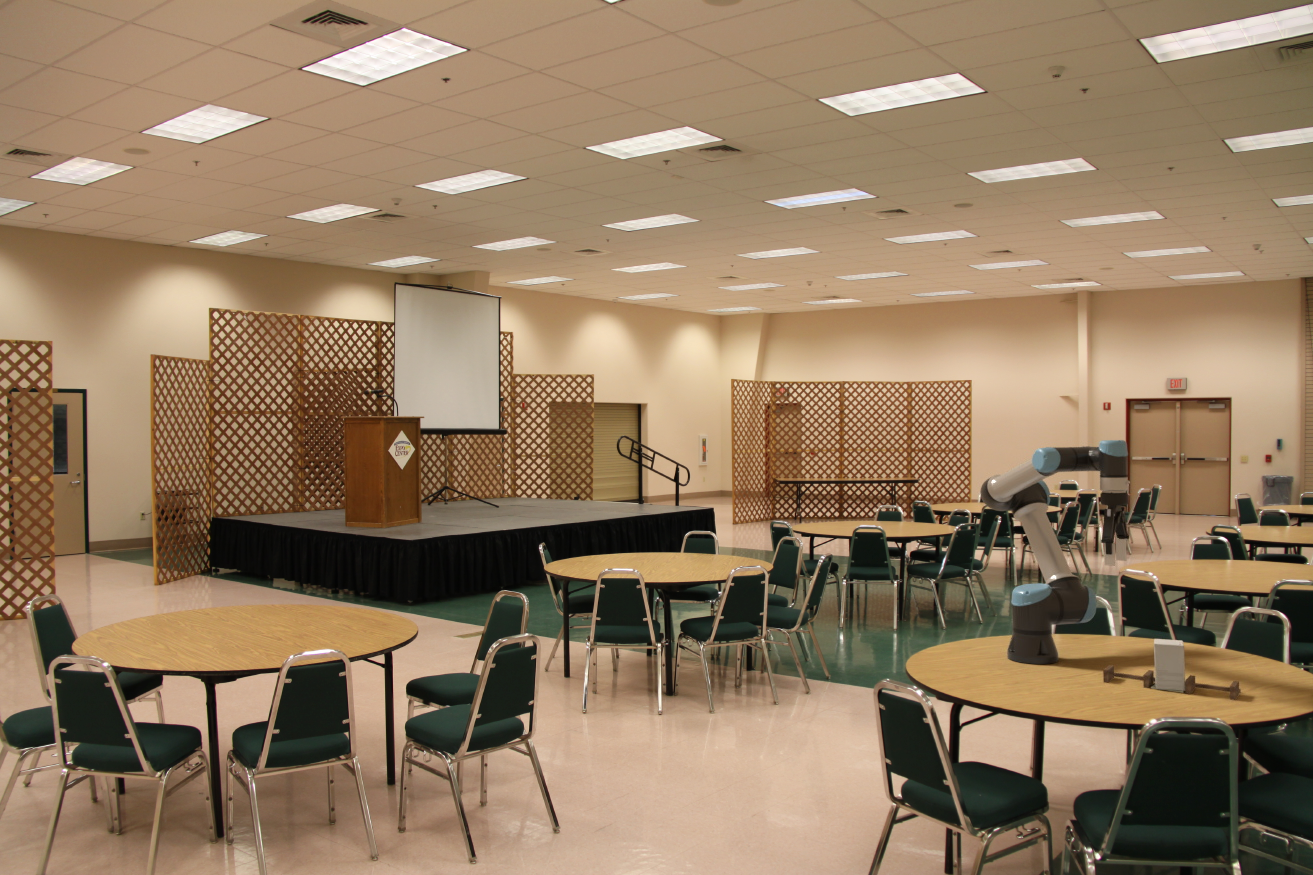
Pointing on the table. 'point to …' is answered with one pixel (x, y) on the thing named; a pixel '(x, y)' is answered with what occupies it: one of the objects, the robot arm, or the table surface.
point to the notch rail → (1189, 682)
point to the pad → (1167, 689)
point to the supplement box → (1169, 664)
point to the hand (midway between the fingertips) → (1115, 563)
